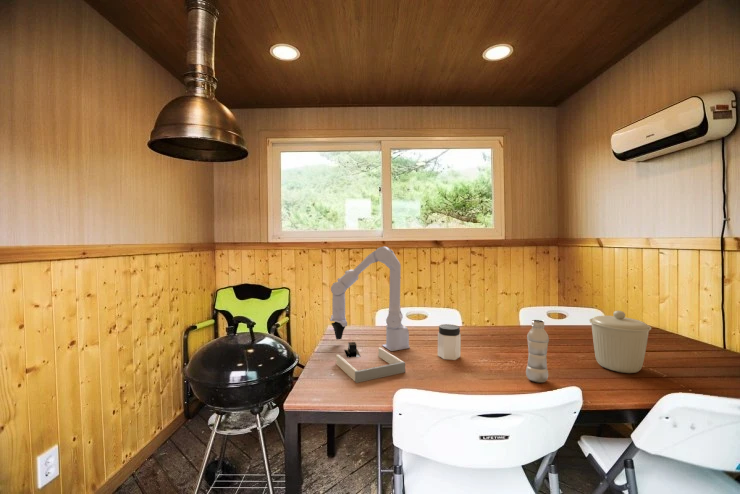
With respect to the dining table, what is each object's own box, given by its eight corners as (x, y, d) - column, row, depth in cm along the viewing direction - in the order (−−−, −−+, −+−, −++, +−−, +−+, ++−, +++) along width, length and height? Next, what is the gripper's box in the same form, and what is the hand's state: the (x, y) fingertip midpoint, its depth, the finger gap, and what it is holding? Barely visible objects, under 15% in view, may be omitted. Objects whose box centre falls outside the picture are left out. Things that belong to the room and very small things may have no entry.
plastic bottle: (521, 377, 112) (522, 318, 112) (540, 376, 113) (541, 318, 113) (532, 385, 106) (533, 323, 106) (552, 384, 107) (553, 323, 106)
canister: (634, 382, 109) (635, 318, 108) (578, 363, 125) (579, 308, 124) (660, 372, 117) (661, 313, 117) (604, 356, 133) (605, 304, 133)
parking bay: (380, 356, 132) (380, 347, 132) (405, 372, 116) (405, 362, 116) (336, 364, 124) (336, 354, 123) (356, 382, 107) (356, 372, 107)
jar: (464, 358, 129) (464, 328, 129) (446, 361, 127) (446, 330, 126) (451, 351, 138) (451, 323, 137) (434, 353, 135) (434, 324, 135)
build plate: (363, 359, 130) (363, 348, 130) (345, 360, 129) (345, 349, 129) (358, 348, 142) (358, 338, 142) (341, 350, 141) (341, 339, 141)
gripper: (324, 306, 151) (324, 335, 151) (336, 312, 138) (336, 344, 139) (339, 305, 154) (339, 333, 155) (351, 311, 141) (351, 342, 142)
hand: (338, 338), depth 147 cm, fingers closed
